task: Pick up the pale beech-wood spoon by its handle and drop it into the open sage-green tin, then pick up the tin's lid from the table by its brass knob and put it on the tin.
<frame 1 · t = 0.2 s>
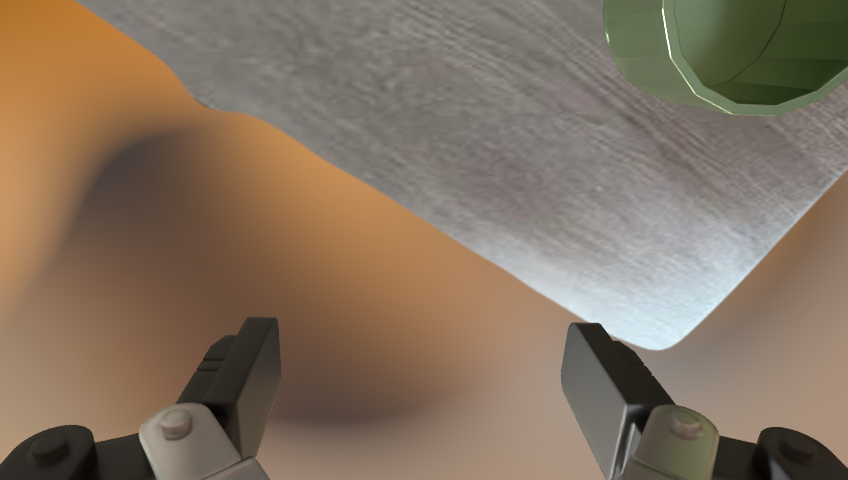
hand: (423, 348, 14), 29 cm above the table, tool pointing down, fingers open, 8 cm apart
tin: (697, 2, 38), on the table
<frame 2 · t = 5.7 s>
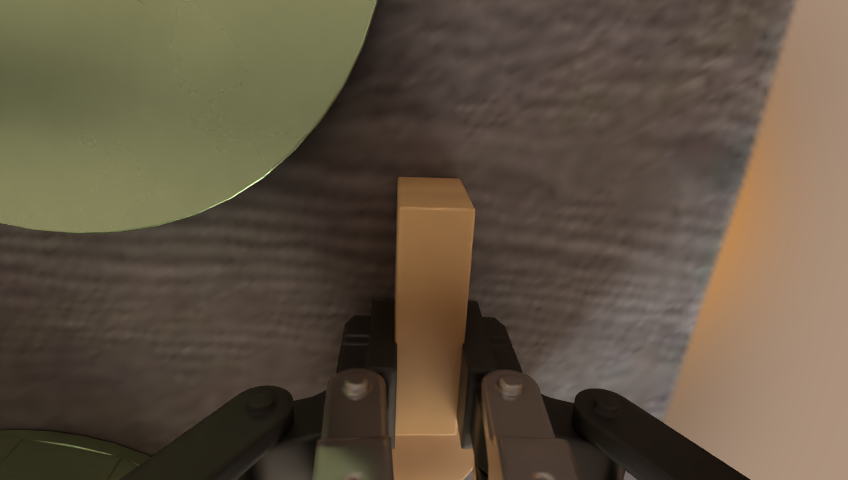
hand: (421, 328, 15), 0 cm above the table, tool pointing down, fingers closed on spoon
spoon: (421, 338, 15), on the table, touching gripper
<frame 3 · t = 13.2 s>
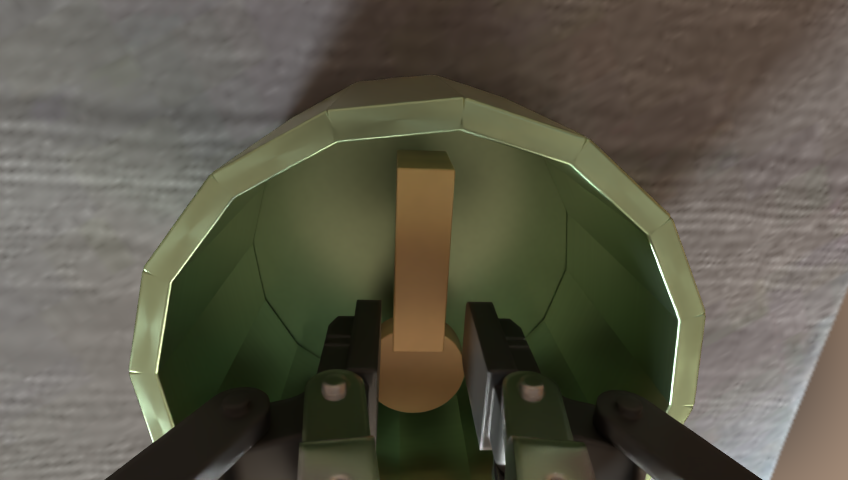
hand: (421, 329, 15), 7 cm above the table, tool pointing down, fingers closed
spoon: (416, 283, 19), point 3 cm above the table
tin: (413, 251, 22), on the table
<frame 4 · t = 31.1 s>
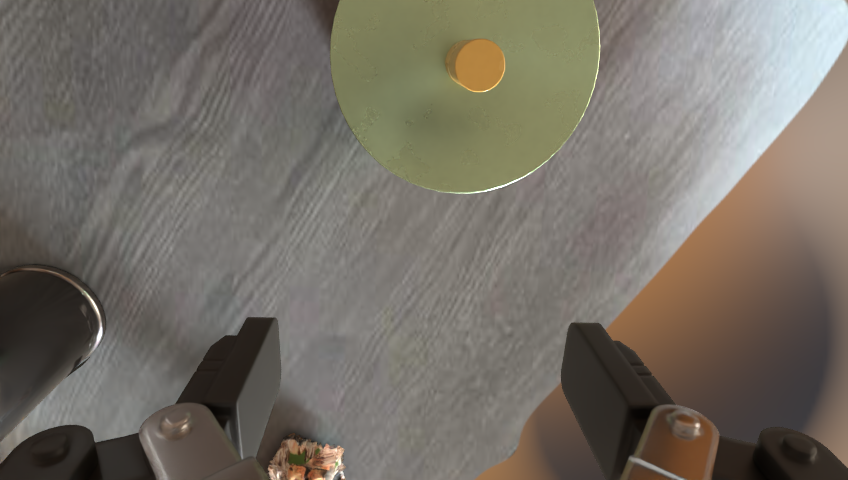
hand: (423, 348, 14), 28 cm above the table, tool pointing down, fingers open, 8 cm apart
plant with pod: (306, 473, 51), on the table
lid: (465, 62, 29), point 9 cm above the table, touching tin
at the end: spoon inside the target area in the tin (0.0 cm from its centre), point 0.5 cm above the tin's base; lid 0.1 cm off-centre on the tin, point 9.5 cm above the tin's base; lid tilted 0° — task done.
